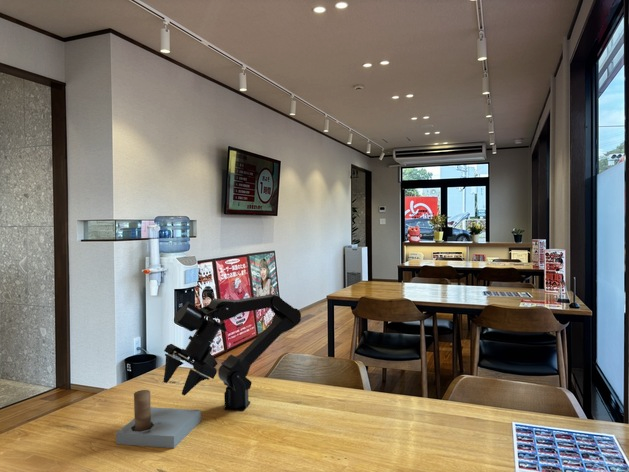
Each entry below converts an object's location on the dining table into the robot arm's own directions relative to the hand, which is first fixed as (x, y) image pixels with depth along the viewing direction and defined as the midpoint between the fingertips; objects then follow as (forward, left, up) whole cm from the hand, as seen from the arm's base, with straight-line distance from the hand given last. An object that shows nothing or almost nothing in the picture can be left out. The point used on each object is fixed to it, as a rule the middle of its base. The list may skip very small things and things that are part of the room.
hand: (173, 388), depth 124 cm
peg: (+4, +9, -10) cm, 14 cm away
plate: (+2, +5, -10) cm, 11 cm away
